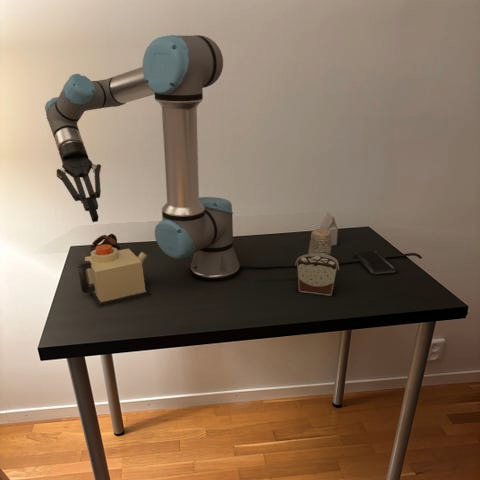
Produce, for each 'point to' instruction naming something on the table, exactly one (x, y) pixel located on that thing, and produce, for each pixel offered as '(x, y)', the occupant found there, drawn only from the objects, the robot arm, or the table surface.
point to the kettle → (115, 274)
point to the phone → (375, 263)
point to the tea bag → (330, 227)
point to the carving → (320, 242)
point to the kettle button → (104, 249)
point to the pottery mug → (106, 241)
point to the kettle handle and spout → (91, 287)
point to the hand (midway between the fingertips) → (95, 219)
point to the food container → (316, 273)
